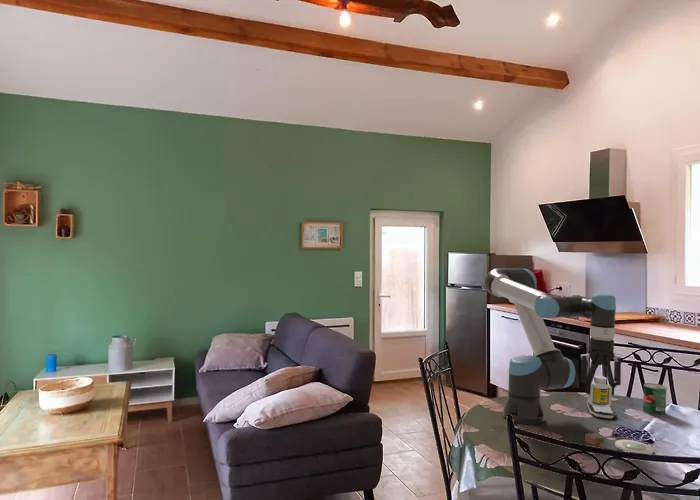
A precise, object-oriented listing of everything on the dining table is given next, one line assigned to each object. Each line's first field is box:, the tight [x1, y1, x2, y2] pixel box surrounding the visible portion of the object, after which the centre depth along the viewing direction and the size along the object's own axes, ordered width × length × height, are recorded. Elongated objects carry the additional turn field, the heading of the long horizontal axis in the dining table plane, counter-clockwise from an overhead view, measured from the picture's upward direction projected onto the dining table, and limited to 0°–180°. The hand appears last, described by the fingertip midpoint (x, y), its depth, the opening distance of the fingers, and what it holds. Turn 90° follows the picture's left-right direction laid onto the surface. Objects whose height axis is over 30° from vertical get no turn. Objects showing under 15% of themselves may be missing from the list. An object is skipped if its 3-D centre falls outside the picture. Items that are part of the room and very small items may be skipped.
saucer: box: [614, 439, 654, 455], centre depth 164 cm, size 11×11×1 cm
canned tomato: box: [642, 382, 667, 417], centre depth 200 cm, size 8×8×11 cm
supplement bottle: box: [591, 375, 609, 407], centre depth 173 cm, size 5×5×10 cm
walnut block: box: [584, 432, 605, 449], centre depth 164 cm, size 4×4×4 cm
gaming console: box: [586, 401, 617, 420], centre depth 200 cm, size 19×9×3 cm, turn 160°
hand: (599, 403), depth 173 cm, fingers closed on supplement bottle, 5 cm apart
